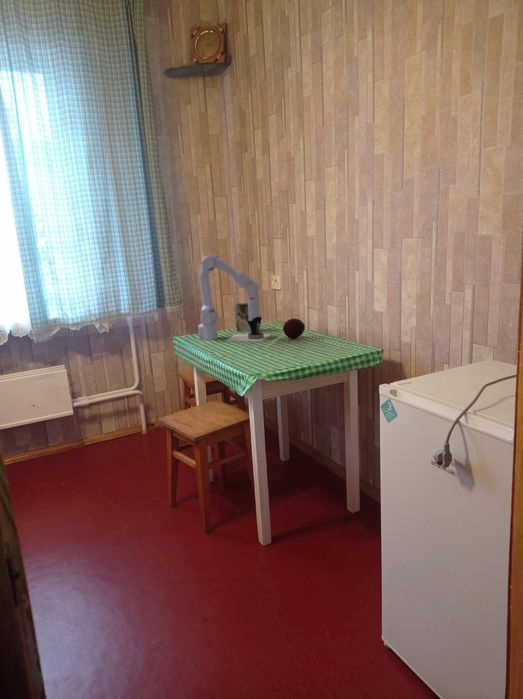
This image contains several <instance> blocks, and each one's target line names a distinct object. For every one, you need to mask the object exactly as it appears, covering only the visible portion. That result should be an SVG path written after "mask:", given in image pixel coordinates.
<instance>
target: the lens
mask: <svg viewBox="0 0 523 699" xmlns="http://www.w3.org/2000/svg"><path fill="white" fill-rule="evenodd" d="M250 329H251V328H250ZM250 333H251V335H260V333H261V331H260V328H259V323H257V332H256V333H252V332H250Z"/></svg>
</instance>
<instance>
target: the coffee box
mask: <svg viewBox="0 0 523 699" xmlns="http://www.w3.org/2000/svg"><path fill="white" fill-rule="evenodd" d="M234 310H235V311H234V313H235V324H236V326H235V327H236V332H237V333H251V329H250V326H249V324H248V322H247V320H248V317H249V316H248V315H249V311H248V302H244V303H243V302H242V303H239V302H238V303H236V304H235V305H234Z"/></svg>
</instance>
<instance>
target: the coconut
mask: <svg viewBox="0 0 523 699" xmlns="http://www.w3.org/2000/svg"><path fill="white" fill-rule="evenodd" d="M305 328H306V326H305V324H304V322H303V321H302V320H300V319H298V318H290V319H288V320H286V322H285V323H284V324H283V326H282V331H283V333H284V334H285V336H286V337H287V338H289V339H290V340H296V339H298V338H299V337H301V336H302V335H303V333H304V331H305Z"/></svg>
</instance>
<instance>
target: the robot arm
mask: <svg viewBox="0 0 523 699" xmlns="http://www.w3.org/2000/svg"><path fill="white" fill-rule="evenodd" d="M213 269H218V270H222V271H224V272H225V273H226V274H227V275H230V277H232V278H233V279H234V282H235V283H236V284H237V285H238V286H240V287H241V288H243V289H244V290H245V292H246V293H247V303H248V311H249V315H248V316H249V317H248V320H247V322H248V324H249V326H250V328H251V332H252V333H256V332H257V323H259V329H260V327H261V322H262V320H263V317H262V316H263V314H261V312H260V310H261V309H260V296H259V295H260V294H259V290H260V284H259V283H258V282H257V281H254V279H252V278H249V277H248V276H247V275H246V273H245V272H238V271H236V270H235V269H234V268H233V267H232V266H230V265H229V263H227V262H226V261H225V260H224V259H223V258H220V257H219V256H218V255H216V254H212V255H206V256H204V257H203V258H202V259H201V260H200V265H199V267H198V269H197V276H198V283H199V291H200V298H201V303H202V307H201V312H200V313H201V314H200V321H201V323H199V324H198V326H197V327H198V328H197V329H198V341H201V340H202V341H205V340H206V341H213V340H217V339H218V338H219V336H218V326H217V325H218V324H217V318H218V313H217V311H216V307H215V306H214V304H213V297H212V291H211V289H212V288H211V284H210V282H211V281H210V275H209V274H210V273H211V272H212V271H213ZM251 332H250V333H251Z"/></svg>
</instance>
